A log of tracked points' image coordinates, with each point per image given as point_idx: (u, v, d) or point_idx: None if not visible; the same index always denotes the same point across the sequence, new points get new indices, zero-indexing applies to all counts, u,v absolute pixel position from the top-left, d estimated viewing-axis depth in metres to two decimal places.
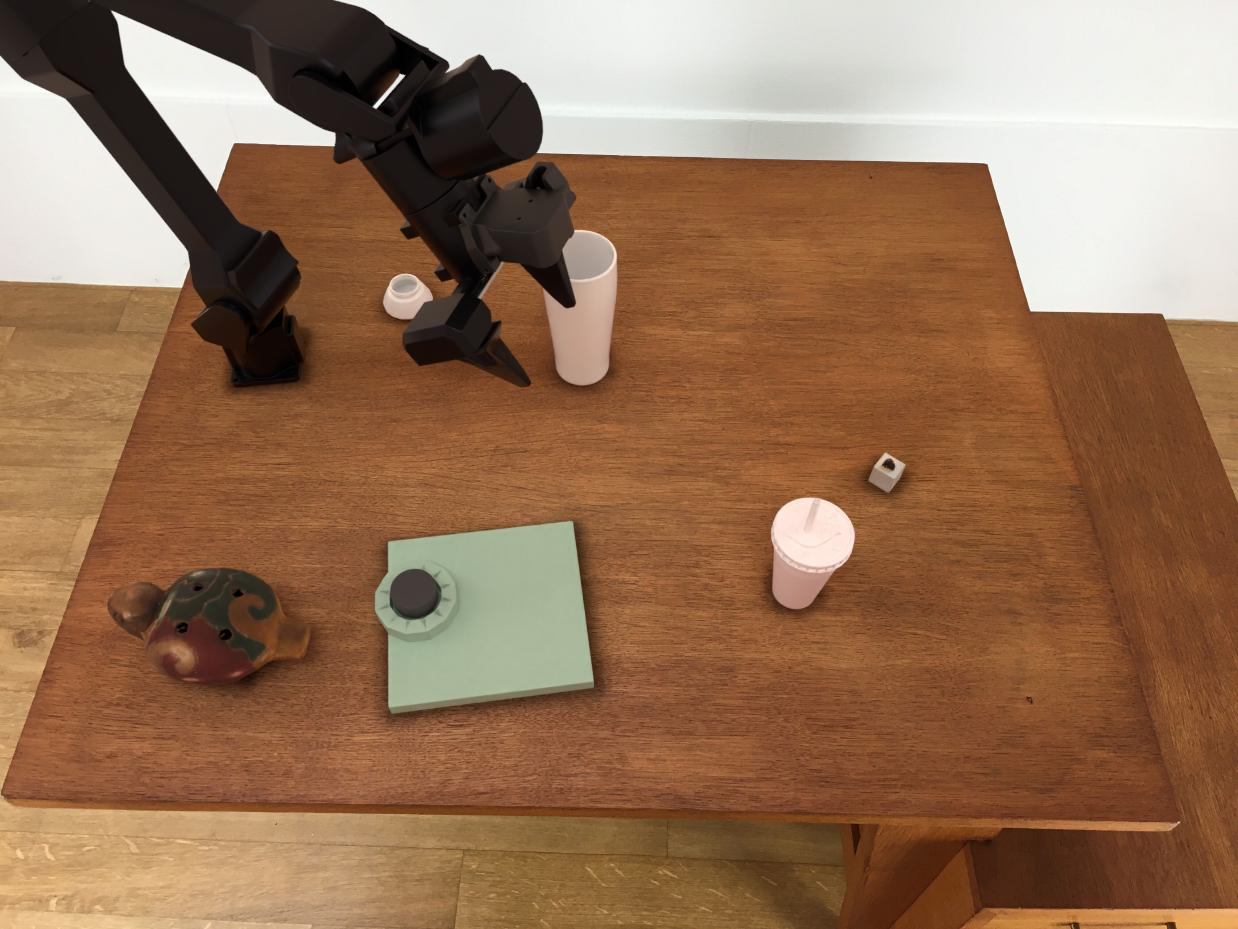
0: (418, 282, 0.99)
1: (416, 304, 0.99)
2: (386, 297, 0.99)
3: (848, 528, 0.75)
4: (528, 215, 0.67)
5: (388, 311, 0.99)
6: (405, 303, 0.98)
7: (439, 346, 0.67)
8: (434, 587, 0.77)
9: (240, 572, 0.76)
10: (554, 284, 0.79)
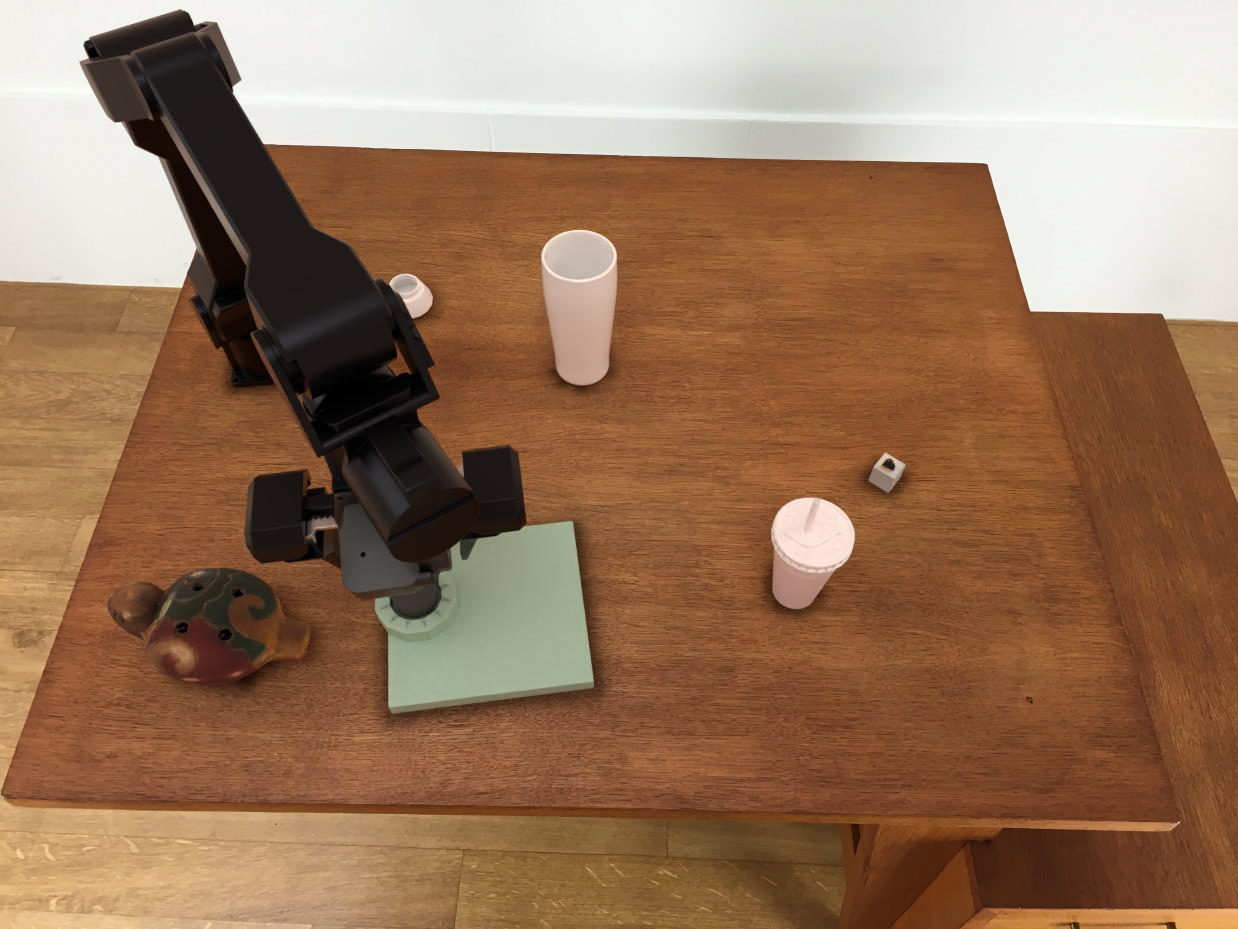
0: (418, 282, 0.99)
1: (416, 304, 0.99)
2: None
3: (848, 528, 0.75)
4: (370, 562, 0.60)
5: None
6: (405, 303, 0.98)
7: None
8: (434, 587, 0.77)
9: (240, 572, 0.76)
10: None
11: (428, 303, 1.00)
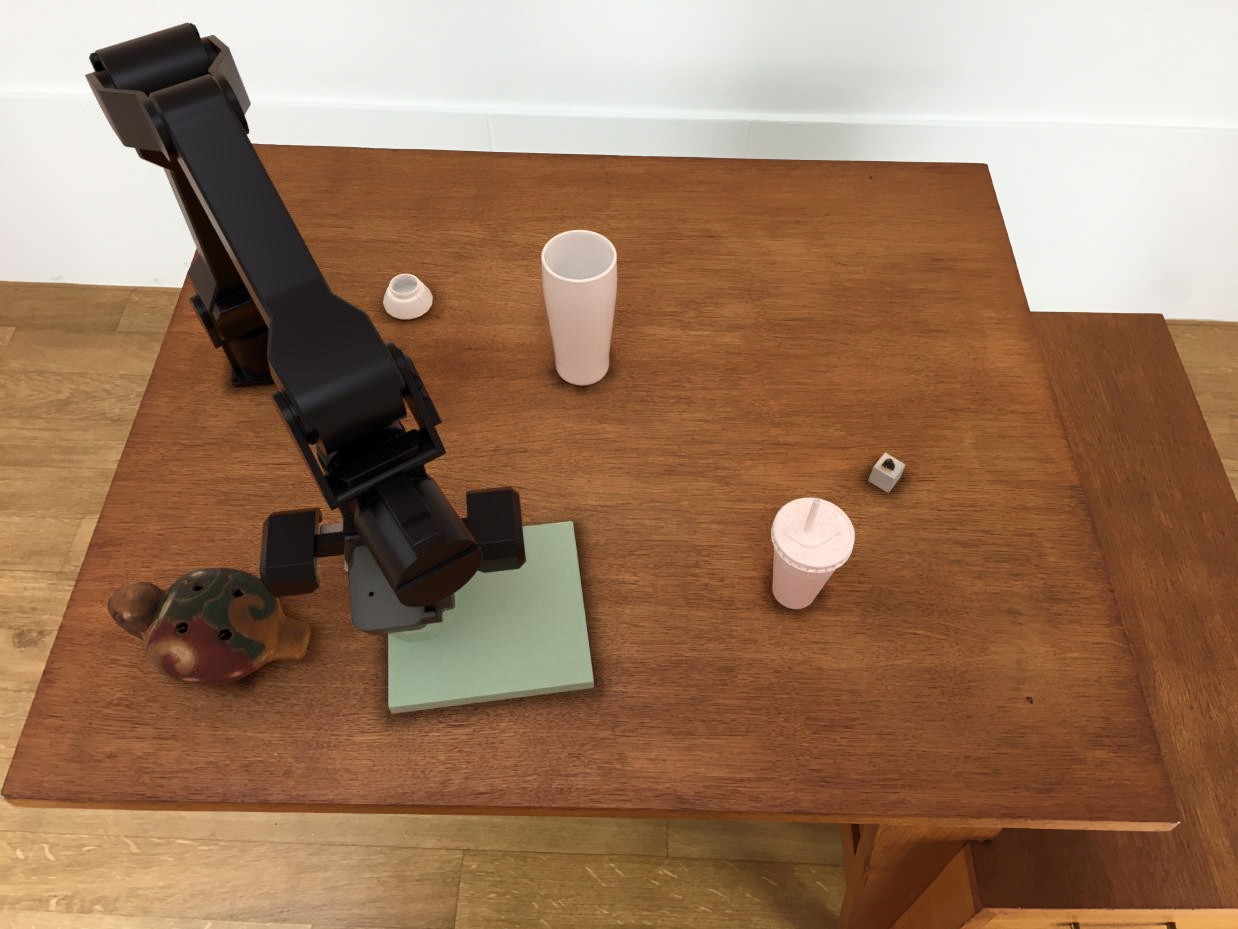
0: (418, 282, 0.99)
1: (416, 304, 0.99)
2: (386, 297, 0.99)
3: (848, 528, 0.75)
4: (378, 601, 0.64)
5: (388, 311, 0.99)
6: (405, 303, 0.98)
7: None
8: None
9: (240, 572, 0.76)
10: None
11: (428, 303, 1.00)
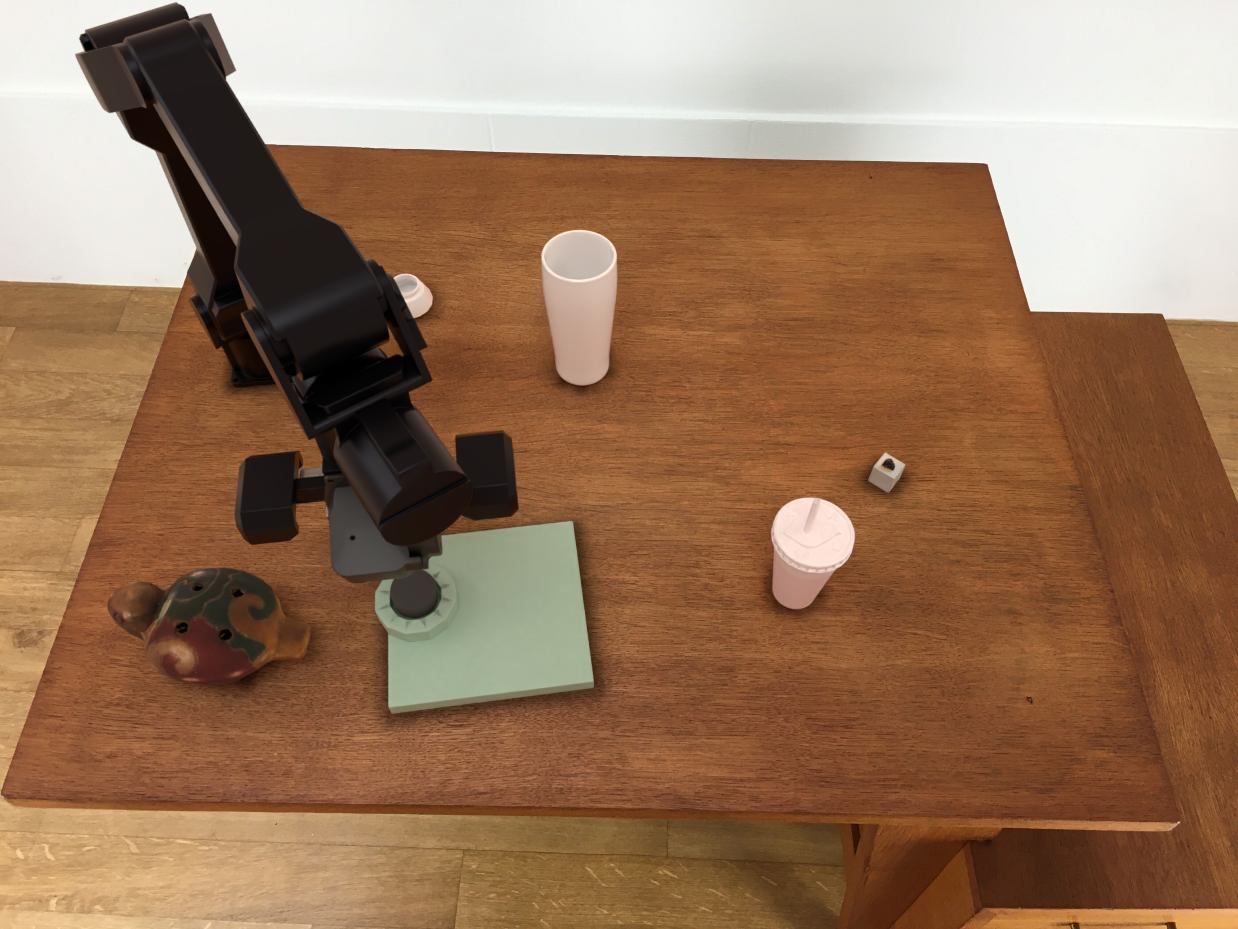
0: (418, 282, 0.99)
1: (416, 304, 0.99)
2: None
3: (848, 528, 0.75)
4: (359, 546, 0.60)
5: None
6: None
7: None
8: (434, 587, 0.77)
9: (240, 572, 0.76)
10: None
11: (428, 303, 1.00)
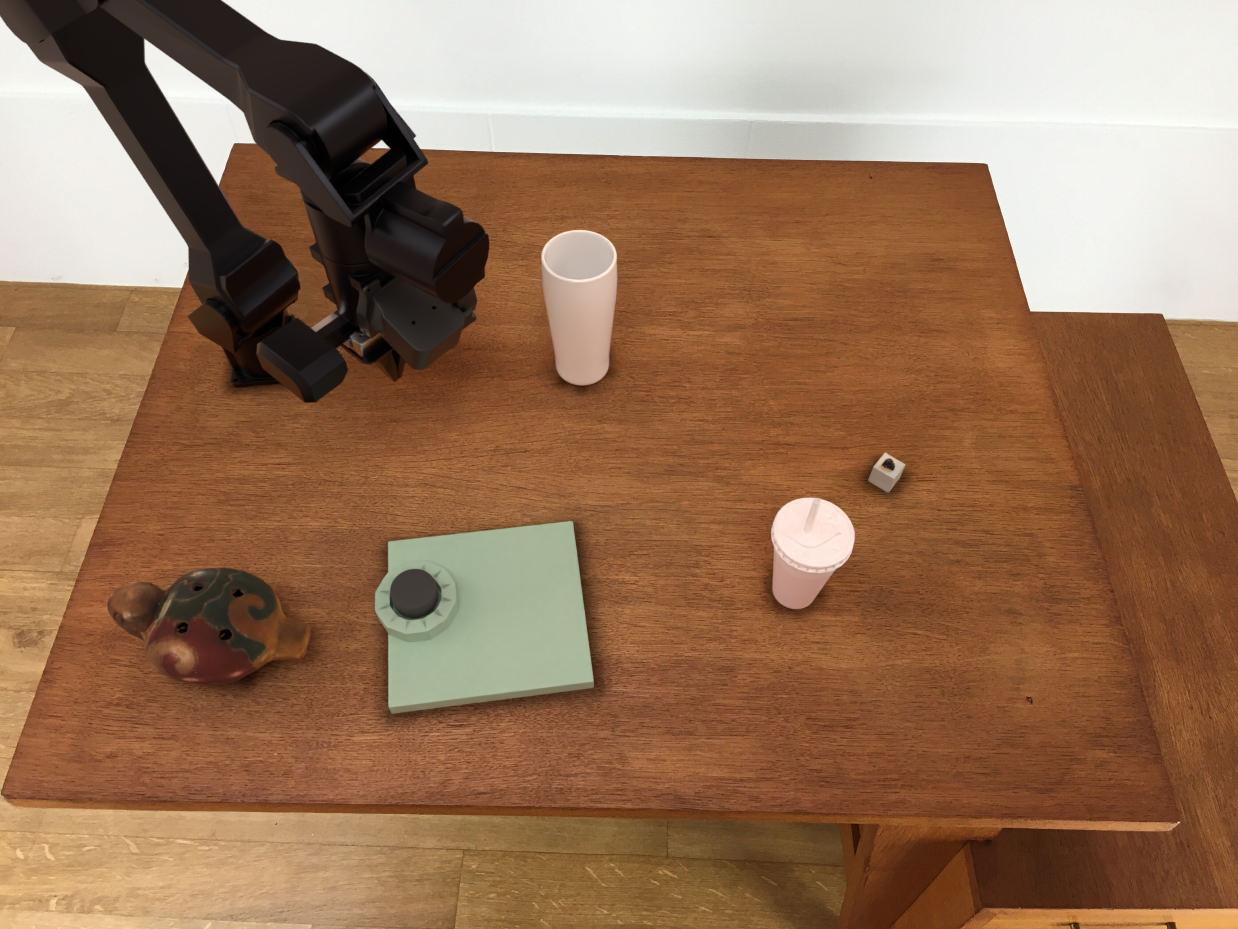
0: None
1: None
2: None
3: (848, 528, 0.75)
4: (423, 324, 0.70)
5: None
6: None
7: (285, 379, 0.71)
8: (434, 587, 0.77)
9: (240, 572, 0.76)
10: None
11: None
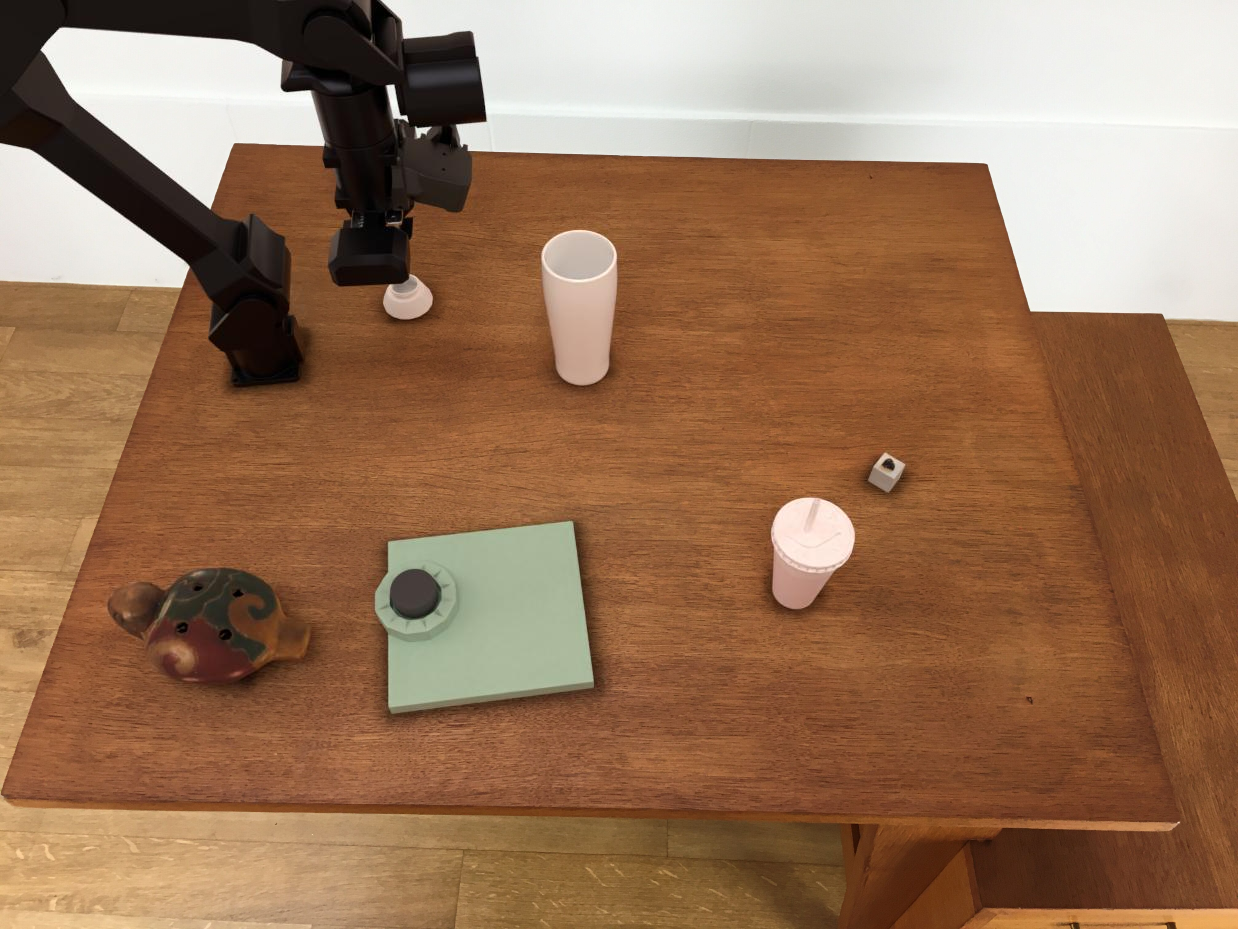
0: (418, 282, 0.99)
1: (416, 304, 0.99)
2: (386, 297, 0.99)
3: (848, 528, 0.75)
4: (450, 167, 0.80)
5: (388, 311, 0.99)
6: (405, 303, 0.98)
7: (377, 272, 0.77)
8: (434, 587, 0.77)
9: (240, 572, 0.76)
10: None
11: (428, 303, 1.00)
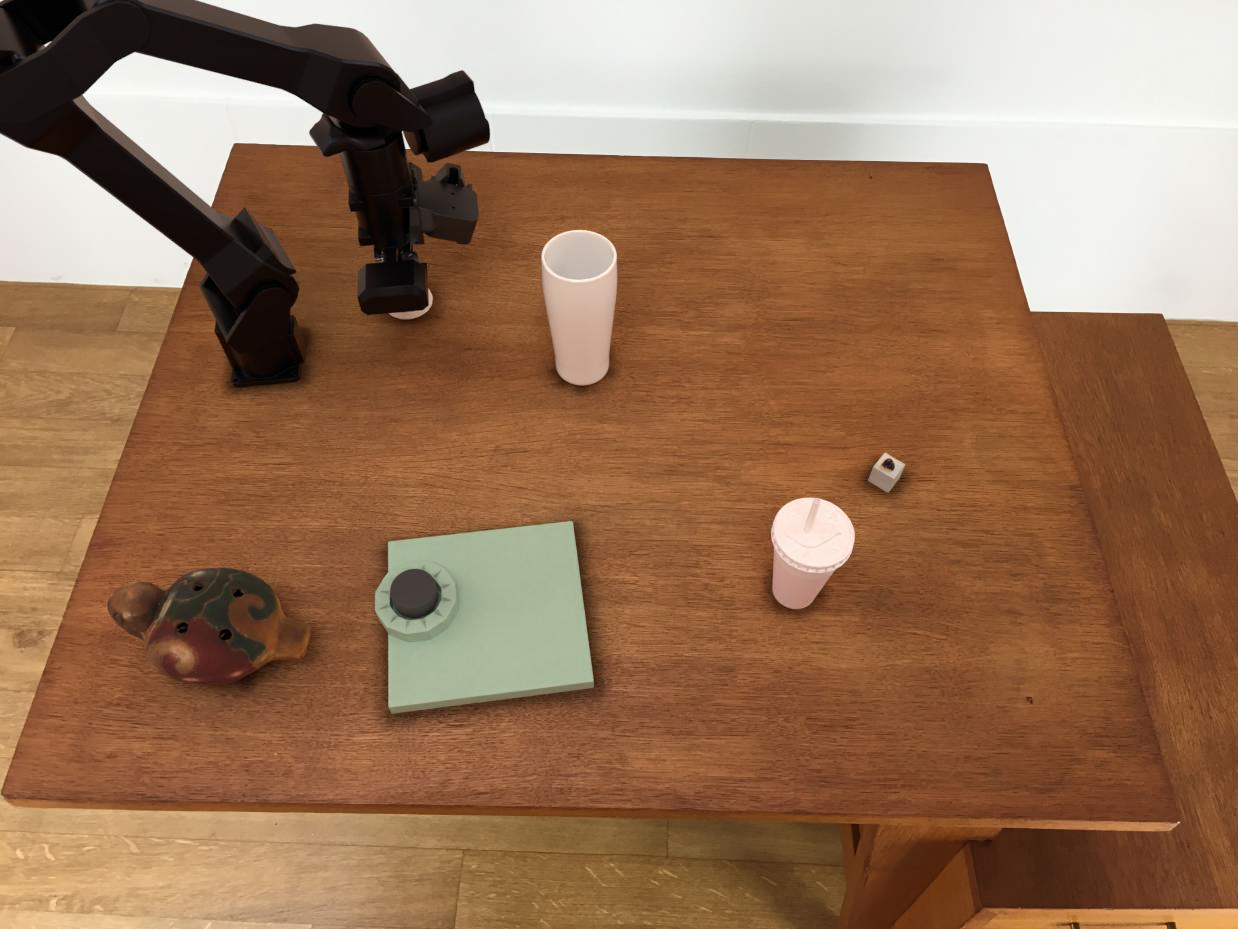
0: None
1: None
2: None
3: (848, 528, 0.75)
4: (459, 205, 0.91)
5: None
6: None
7: (401, 301, 0.88)
8: (434, 587, 0.77)
9: (240, 572, 0.76)
10: None
11: None
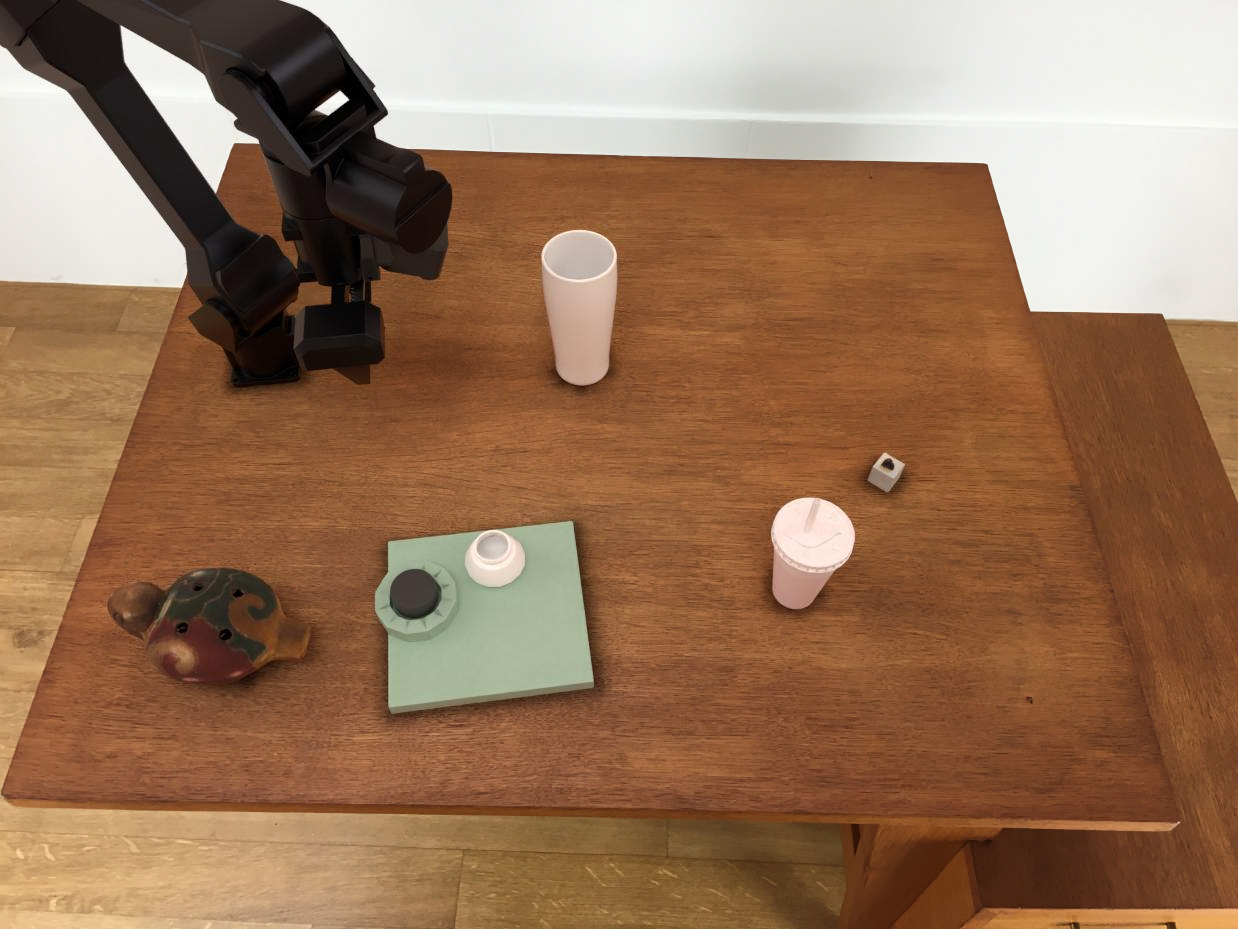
0: (509, 543, 0.80)
1: (507, 570, 0.80)
2: (469, 560, 0.80)
3: (848, 528, 0.75)
4: None
5: (472, 577, 0.80)
6: (494, 571, 0.79)
7: (350, 353, 0.70)
8: (434, 587, 0.77)
9: (240, 572, 0.76)
10: None
11: (521, 565, 0.81)
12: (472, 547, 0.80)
